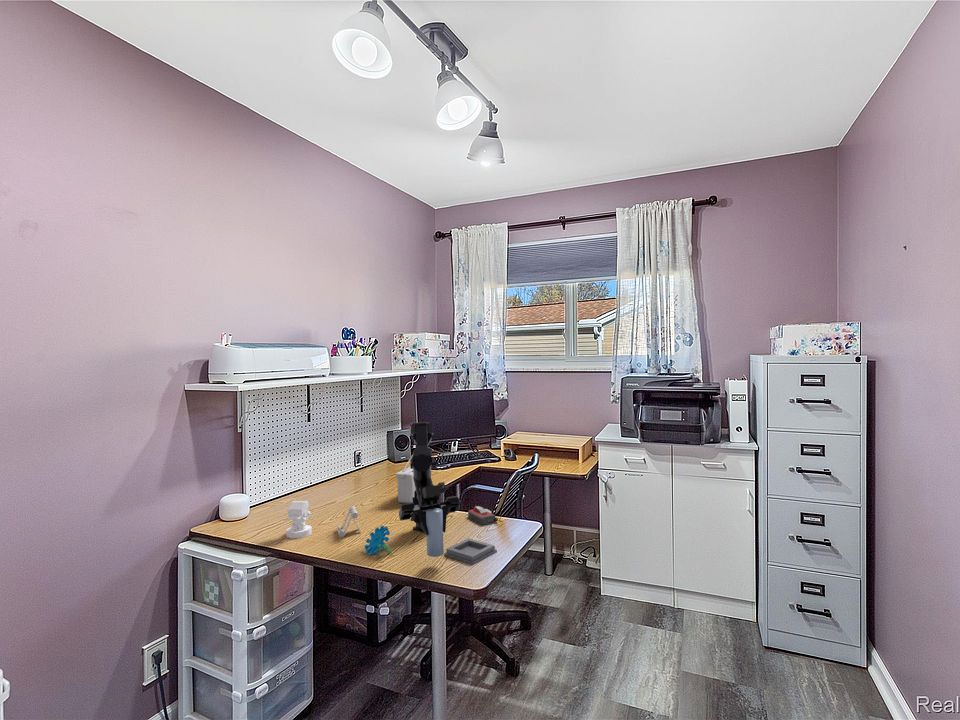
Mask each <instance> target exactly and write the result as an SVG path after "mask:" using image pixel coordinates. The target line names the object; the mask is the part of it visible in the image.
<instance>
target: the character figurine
mask: <svg viewBox="0 0 960 720" xmlns="http://www.w3.org/2000/svg"><path fill="white" fill-rule="evenodd" d="M311 507H312V505H311V504H310V503H309V502H308V500H292V502H290V503H289V506H288V508H287V509H286V510H287V515H288V516H286V521H287V520H288V521H289V520H291V522H292V523H291V524H290V525H291V526H290V527H288V528H287V529H286V531H285V532H286V533H285V534H286V537H287V538H288V537H289V539H300V538H304V537H305V538H306V537H308V536H310V535H312V533H313V531H312V526H311V525H309V524H306V522H307V521H308V519H309V517H310V516H311V515H312V513H311V511H310V508H311Z"/></svg>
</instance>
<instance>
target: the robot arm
mask: <svg viewBox="0 0 960 720" xmlns="http://www.w3.org/2000/svg"><path fill="white" fill-rule="evenodd" d="M410 435H411V436H413V438H412V439H413V441H414V443H415V445H416V448H415V449H414V450H413V452H412V455H413V456H412V458H411V457H410V458H411V460H410V462H409V463H410V465H409V467H410V466H411V469H413V475H414V476H413V480H414V484H415V488H416V490H415V492H414V497H413V502H411V503H401V505H400V508H399V510H398V517H399V521H406V520H407V521H408V520H410V522H414V523H415V526H413V527H412V529H413V530H416V531H420V532H423V533H424V534H425V536H427V535H428V528H427V525H426V510H428V509H432V508H439V509H442V511H443V533H446V528H447V517H448V515H449V514H451V513H456V512H457V511H458V510H459V508H460V505H461V500H460V498H459V496H457V495H454V496H448V497H446V498H445V500H444V501H443V502H441V501H440V499H441V496H442V494H445V493H446V492H447V487H446V484H445V481H443V482H442V481H441V482H438V483H437V484H435V485H434V483H433V479H432V470H433V469H434V468H435V467H436V465H437V463H436V461H437V460H436V459H435V457H434V456H432V450H431V448H429V444H430V443H431V441H432V439H433V438H432V437H433V436H432V435H434V423H431V422H427V421H420V422H419V421H418V422H414V423H413V424H410ZM439 501H440V502H439Z"/></svg>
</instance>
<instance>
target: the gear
mask: <svg viewBox="0 0 960 720" xmlns="http://www.w3.org/2000/svg"><path fill="white" fill-rule="evenodd" d="M390 534H391V530H389V527H388V526H384V525H380V527H376V528H374V532H370V533H369V536H370V538H366V540H365V542H366V543H367V544H364V549H365V552H366V554H368V555H369V554H370V555H371V556H373V555H375V553H376V554H379V553H380V549H382V550H383V551H385V552H388V553H389V554H392V550H391V549H390V548H389V545H387V544H386V543H387V542H388V541H389V540H390V538H389V537H388V536H389V535H390ZM385 542H386V543H385Z"/></svg>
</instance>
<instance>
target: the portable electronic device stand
mask: <svg viewBox="0 0 960 720" xmlns="http://www.w3.org/2000/svg"><path fill="white" fill-rule="evenodd" d="M358 516H359V513H358V512H357V509H356V507H355V506H353V505H352V506H350V507H349V509H348V511H347V514H346V515H345V518H344V521H343V524H342V525H341V526H340V525H339V524H337V527H336V528H337V533H338V537H339V538H341V539H342V538H344V537H345V536H346V533H347V531H348V528H349V526H350V523H351V520H352V519H353V521H354V523H355V526H356V528H357V530H358V531H359V534H361V532H362V531H361V529H360V527H359V525H358V524H357V521H356V519H357V518H359V517H358ZM347 521H348V522H347ZM346 522H347V523H346ZM345 525H346V526H345ZM344 527H345V528H344Z"/></svg>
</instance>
